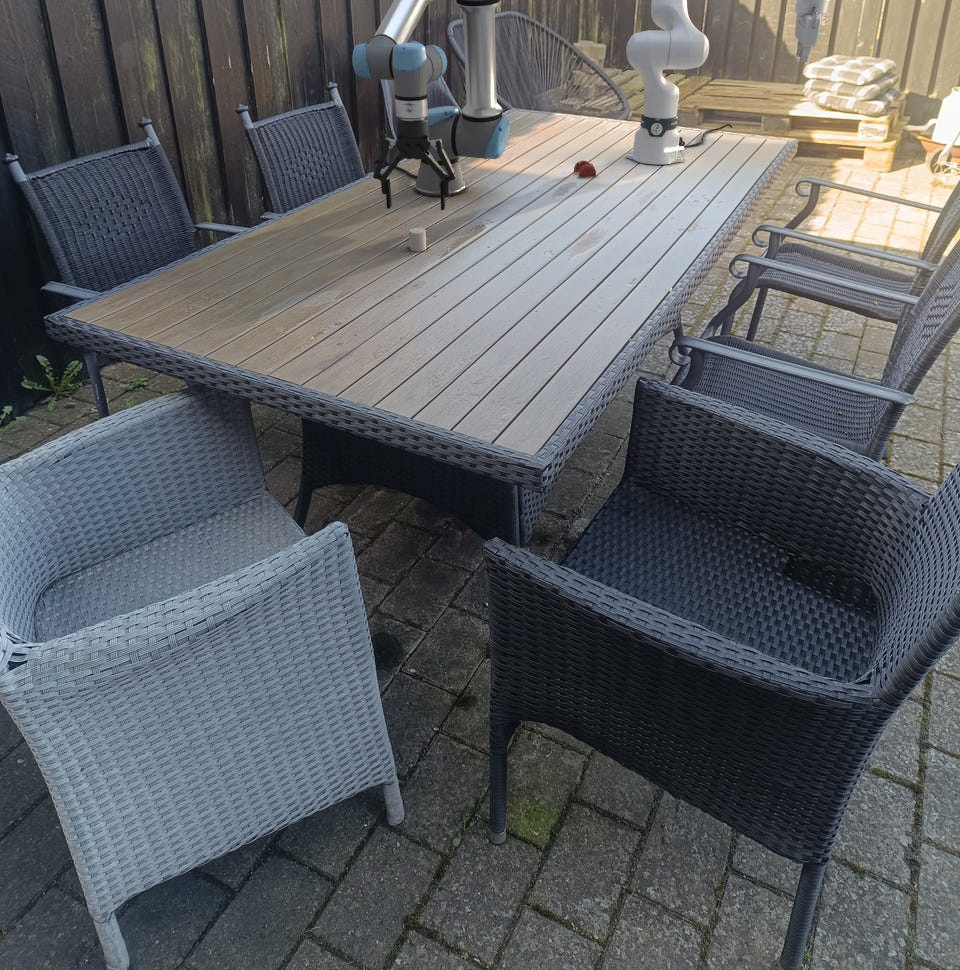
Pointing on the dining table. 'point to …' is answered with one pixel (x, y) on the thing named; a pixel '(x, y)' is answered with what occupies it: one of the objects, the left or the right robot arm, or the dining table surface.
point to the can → (417, 239)
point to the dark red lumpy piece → (584, 169)
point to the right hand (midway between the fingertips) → (801, 59)
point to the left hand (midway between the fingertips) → (416, 207)
